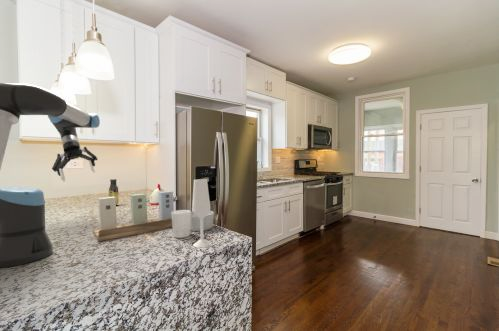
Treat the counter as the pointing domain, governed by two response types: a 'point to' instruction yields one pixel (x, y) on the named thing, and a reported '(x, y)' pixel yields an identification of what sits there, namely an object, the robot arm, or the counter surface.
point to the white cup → (181, 223)
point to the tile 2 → (138, 208)
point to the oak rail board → (132, 229)
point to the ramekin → (206, 221)
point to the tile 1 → (107, 213)
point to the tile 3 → (165, 205)
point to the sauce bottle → (113, 190)
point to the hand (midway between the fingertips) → (78, 175)
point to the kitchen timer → (155, 196)
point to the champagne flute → (201, 207)
